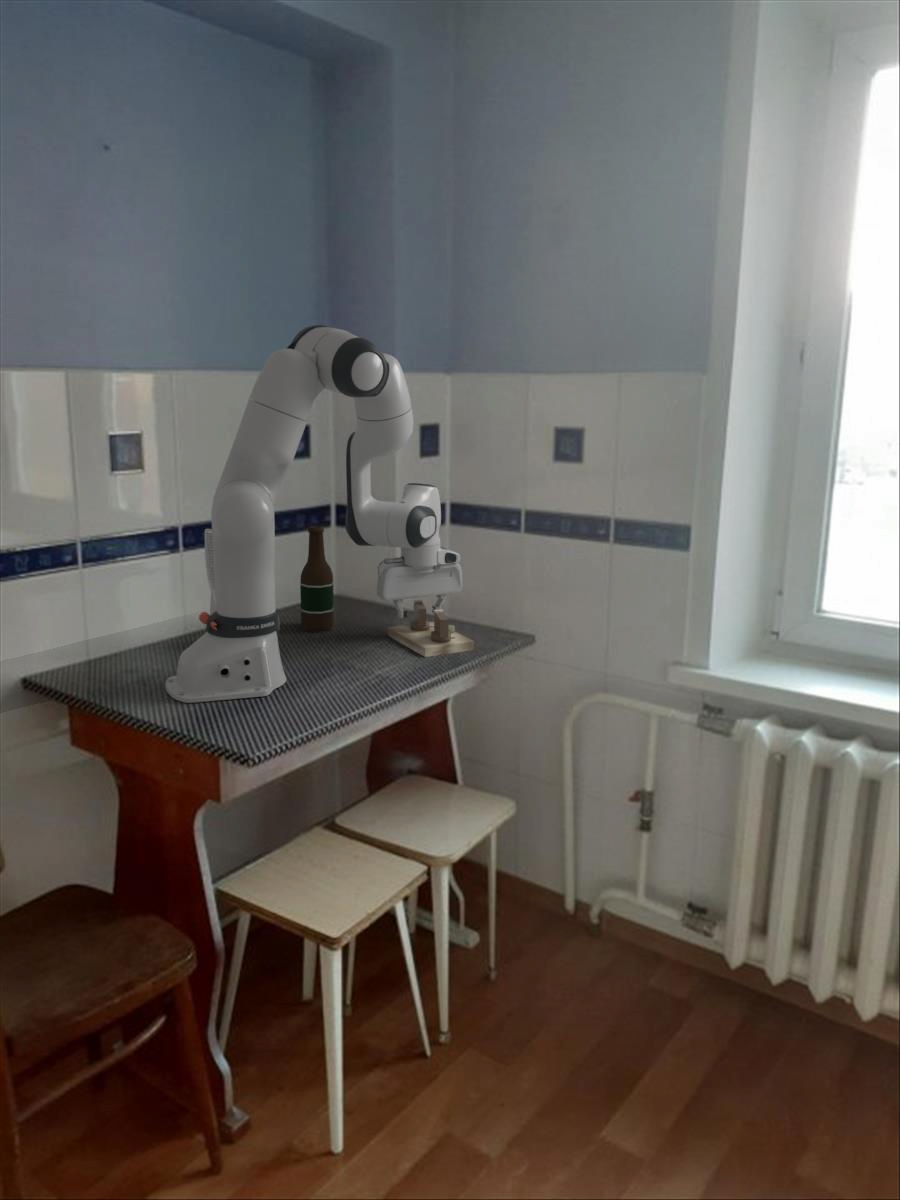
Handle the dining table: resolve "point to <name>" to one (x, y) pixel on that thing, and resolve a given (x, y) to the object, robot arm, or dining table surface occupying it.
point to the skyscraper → (210, 568)
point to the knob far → (419, 617)
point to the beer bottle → (316, 586)
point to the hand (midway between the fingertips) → (419, 615)
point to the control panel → (425, 645)
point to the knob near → (440, 627)
